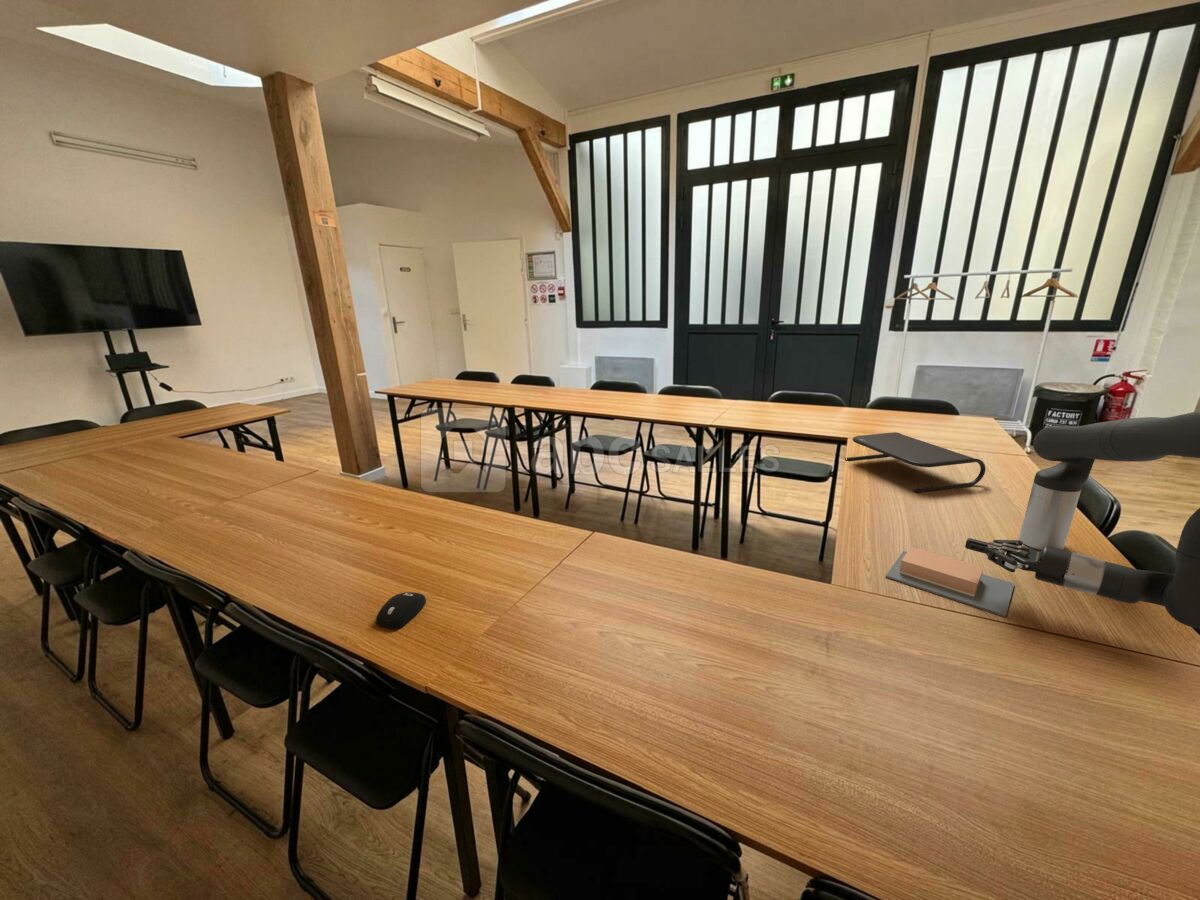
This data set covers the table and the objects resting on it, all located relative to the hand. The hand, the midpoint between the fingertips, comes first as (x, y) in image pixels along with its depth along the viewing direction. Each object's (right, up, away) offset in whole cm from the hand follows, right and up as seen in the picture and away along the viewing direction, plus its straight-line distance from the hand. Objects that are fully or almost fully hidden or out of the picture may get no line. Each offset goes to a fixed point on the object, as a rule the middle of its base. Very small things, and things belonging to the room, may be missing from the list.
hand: (966, 542), depth 110 cm
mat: (-1, -10, +4) cm, 11 cm away
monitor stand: (+35, +13, +74) cm, 83 cm away
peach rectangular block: (+3, -9, 0) cm, 10 cm away
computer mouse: (-131, -17, 0) cm, 132 cm away
